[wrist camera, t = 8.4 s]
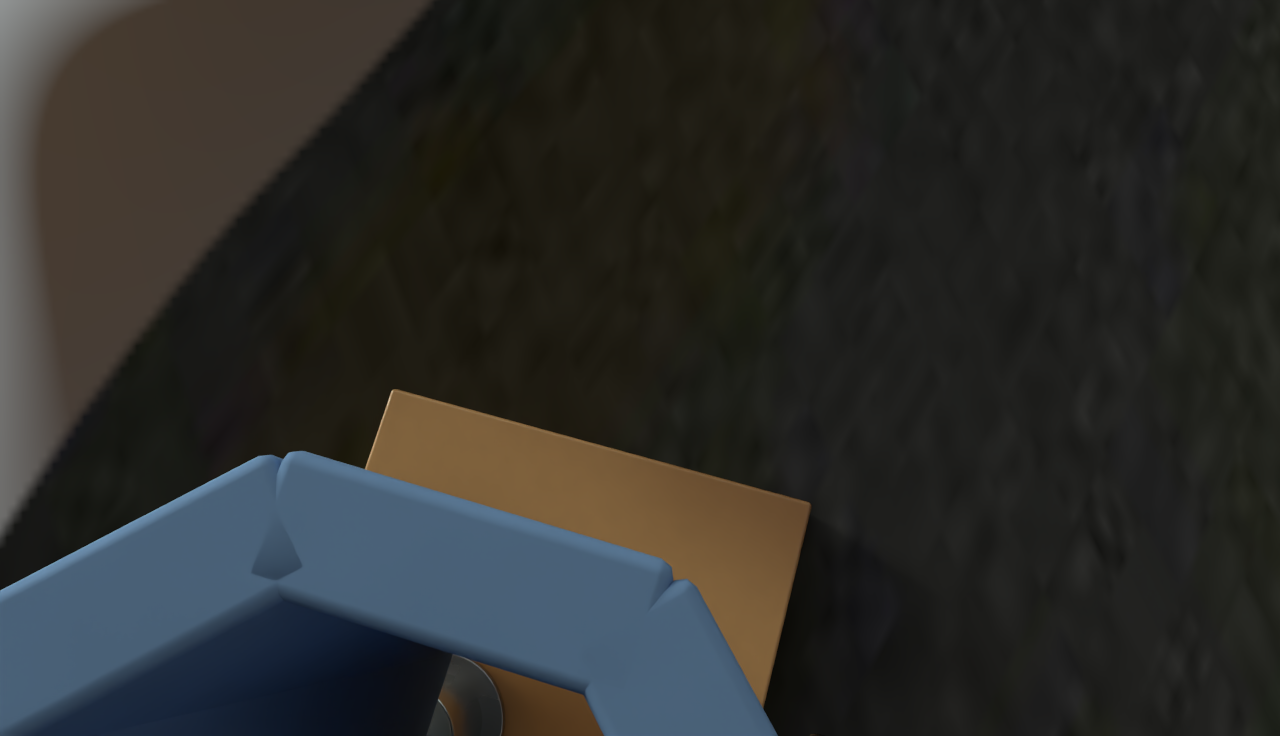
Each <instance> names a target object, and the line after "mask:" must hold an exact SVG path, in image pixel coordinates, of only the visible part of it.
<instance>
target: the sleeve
mask: <svg viewBox="0 0 1280 736" xmlns="http://www.w3.org/2000/svg"><path fill="white" fill-rule="evenodd" d="M453 654H454V655H458V656H461V657H464V658H467V659H470V660H474V661H477V662H480V663H483V664H486V665H489V666H493V667H496V668H499V669H502V670H505V671H509V672H512V673H515V674H518V675H521V676H525V677H528V678H531V679H534V680H537V681H540V682H544V683H547V684H550V685H553V686H556V687H560V688H563V689H566V690H569V691H572V692H576V693H579V694H582V695H584V697H585V699H586V701H587V703H588V705H589V707H590V709H591V711H592V713H593V715H594V717H595V719H596V721H597V723H598V725H599V727H600V729H601V731H602V733H603V735H604V736H778V735H777V733H776V731H775V730H774V728H773V726H772V724H771V722H770V720H769V719H768V717H767V715H766V713H765V711H764V709H763V708H762V706H761V704H760V702H759V700H758V698H757V696H756V695H755V693H754V691H753V689H752V687H751V685H750V684H749V682H748V680H747V678H746V676H745V674H744V673H743V671H742V669H741V667H740V665H739V663H738V662H737V660H736V658H735V656H734V654H733V652H732V650H731V649H730V647H729V645H728V643H727V641H726V639H725V638H724V636H723V634H722V632H721V630H720V628H719V627H718V625H717V623H716V621H715V619H714V617H713V616H712V614H711V612H710V610H709V608H708V606H707V605H706V603H705V601H704V599H703V597H702V595H701V593H700V592H699V590H698V588H697V586H695V585H694V584H693V583H692V582H690V581H689V580H688V579H681V580H674V581H673V573H672V567H671V566H670V565H669V564H668V563H666V562H665V561H664V560H663V559H662V558H658V557H655V556H652V555H648V554H645V553H642V552H638V551H635V550H632V549H628V548H625V547H622V546H618V545H615V544H612V543H608V542H605V541H602V540H598V539H595V538H592V537H588V536H585V535H582V534H578V533H575V532H572V531H568V530H565V529H562V528H558V527H555V526H552V525H548V524H545V523H542V522H538V521H535V520H532V519H528V518H525V517H522V516H518V515H515V514H512V513H508V512H505V511H502V510H498V509H495V508H492V507H488V506H485V505H482V504H478V503H475V502H472V501H468V500H465V499H462V498H458V497H455V496H452V495H448V494H445V493H442V492H438V491H435V490H432V489H428V488H425V487H422V486H418V485H415V484H412V483H408V482H405V481H402V480H398V479H395V478H392V477H388V476H385V475H382V474H378V473H375V472H372V471H368V470H365V469H362V468H358V467H355V466H352V465H348V464H345V463H342V462H338V461H335V460H332V459H328V458H325V457H322V456H318V455H315V454H312V453H308V452H305V451H298V452H290V453H288V454H287V456H286V457H285V458H284V459H281V458H279V457H276V456H274V455H266V456H258V457H256V458H254V459H252V460H250V461H248V462H246V463H244V464H243V465H241V466H239V467H237V468H235V469H233V470H231V471H229V472H227V473H225V474H223V475H221V476H219V477H218V478H216V479H214V480H212V481H210V482H208V483H206V484H204V485H202V486H200V487H198V488H196V489H195V490H193V491H191V492H189V493H187V494H185V495H183V496H181V497H179V498H177V499H175V500H173V501H171V502H170V503H168V504H166V505H164V506H162V507H160V508H158V509H156V510H154V511H152V512H150V513H148V514H146V515H145V516H143V517H141V518H139V519H137V520H135V521H133V522H131V523H129V524H127V525H125V526H123V527H122V528H120V529H118V530H116V531H114V532H112V533H110V534H108V535H106V536H104V537H102V538H100V539H98V540H97V541H95V542H93V543H91V544H89V545H87V546H85V547H83V548H81V549H79V550H77V551H75V552H74V553H72V554H70V555H68V556H66V557H64V558H62V559H60V560H58V561H56V562H54V563H52V564H50V565H49V566H47V567H45V568H43V569H41V570H39V571H37V572H35V573H33V574H31V575H29V576H27V577H26V578H24V579H22V580H20V581H18V582H16V583H14V584H12V585H10V586H8V587H6V588H4V589H2V590H1V591H0V736H426V735H427V732H428V729H429V726H430V723H431V720H432V717H433V714H434V711H435V708H436V704H437V701H438V698H439V695H440V692H441V689H442V686H443V683H444V680H445V677H446V674H447V671H448V668H449V665H450V661H451V658H452V655H453Z"/></svg>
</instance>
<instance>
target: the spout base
mask: <svg viewBox="0 0 1280 736" xmlns="http://www.w3.org/2000/svg"><path fill="white" fill-rule="evenodd" d="M365 470H368V471H372V472H375V473H378V474H382V475H385V476H388V477H392V478H395V479H398V480H402V481H405V482H408V483H412V484H415V485H418V486H422V487H425V488H428V489H432V490H435V491H438V492H442V493H445V494H448V495H452V496H455V497H458V498H462V499H465V500H468V501H472V502H475V503H478V504H482V505H485V506H488V507H492V508H495V509H498V510H502V511H505V512H508V513H512V514H515V515H518V516H522V517H525V518H528V519H532V520H535V521H538V522H542V523H545V524H548V525H552V526H555V527H558V528H562V529H565V530H568V531H572V532H575V533H578V534H582V535H585V536H588V537H592V538H595V539H598V540H602V541H605V542H608V543H612V544H615V545H618V546H622V547H625V548H628V549H632V550H635V551H638V552H642V553H645V554H648V555H652V556H655V557H658V558H662V559H663V560H664V561H665V562H666V563H668V564H669V565H670V566H671V567H672V573H673V581H674V580H681V579H688V580H689V581H690V582H692V583H693V584H694V585H695V586H697V588H698V590H699V592H700V593H701V595H702V597H703V599H704V601H705V603H706V605H707V606H708V608H709V610H710V612H711V614H712V616H713V617H714V619H715V621H716V623H717V625H718V627H719V628H720V630H721V632H722V634H723V636H724V638H725V639H726V641H727V643H728V645H729V647H730V649H731V650H732V652H733V654H734V656H735V658H736V660H737V662H738V663H739V665H740V667H741V669H742V671H743V673H744V674H745V676H746V678H747V680H748V682H749V684H750V685H751V687H752V689H753V691H754V693H755V695H756V696H757V698H758V700H759V702H760V704H761V706H762V708H764V703H765V699H766V695H767V691H768V687H769V683H770V678H771V674H772V670H773V666H774V662H775V657H776V653H777V649H778V645H779V641H780V637H781V632H782V628H783V624H784V620H785V616H786V611H787V607H788V603H789V599H790V595H791V591H792V586H793V582H794V578H795V574H796V570H797V566H798V561H799V557H800V553H801V549H802V545H803V540H804V536H805V532H806V528H807V524H808V520H809V515H810V511H811V504H810V503H809V502H806V501H802V500H799V499H795V498H791V497H788V496H784V495H781V494H777V493H773V492H770V491H766V490H762V489H759V488H755V487H751V486H748V485H744V484H740V483H737V482H733V481H729V480H726V479H722V478H718V477H715V476H711V475H708V474H704V473H700V472H697V471H693V470H689V469H686V468H682V467H678V466H675V465H671V464H667V463H664V462H660V461H656V460H653V459H649V458H646V457H642V456H638V455H635V454H631V453H627V452H624V451H620V450H616V449H613V448H609V447H605V446H602V445H598V444H594V443H591V442H587V441H583V440H580V439H576V438H573V437H569V436H565V435H562V434H558V433H554V432H551V431H547V430H543V429H540V428H536V427H532V426H529V425H525V424H521V423H518V422H514V421H511V420H507V419H503V418H500V417H496V416H492V415H489V414H485V413H481V412H478V411H474V410H470V409H467V408H463V407H459V406H456V405H452V404H448V403H445V402H441V401H438V400H434V399H430V398H427V397H423V396H419V395H416V394H412V393H408V392H405V391H401V390H397V389H393V390H392V391H391V394H390V397H389V400H388V403H387V406H386V409H385V412H384V415H383V418H382V421H381V423H380V426H379V429H378V432H377V435H376V438H375V441H374V444H373V447H372V450H371V453H370V456H369V459H368V462H367V465H366V468H365ZM426 736H604V735H603V733H602V731H601V729H600V727H599V725H598V723H597V721H596V719H595V717H594V715H593V713H592V711H591V709H590V707H589V705H588V703H587V701H586V699H585V697H584V695H582V694H579V693H576V692H572V691H569V690H566V689H563V688H560V687H556V686H553V685H550V684H547V683H544V682H540V681H537V680H534V679H531V678H528V677H525V676H521V675H518V674H515V673H512V672H509V671H505V670H502V669H499V668H496V667H493V666H489V665H486V664H483V663H480V662H477V661H474V660H470V659H467V658H464V657H461V656H458V655H454V654H453V655H452V658H451V661H450V665H449V668H448V671H447V674H446V677H445V680H444V683H443V686H442V689H441V692H440V695H439V698H438V701H437V704H436V708H435V711H434V714H433V717H432V720H431V723H430V726H429V729H428V732H427V735H426Z"/></svg>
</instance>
